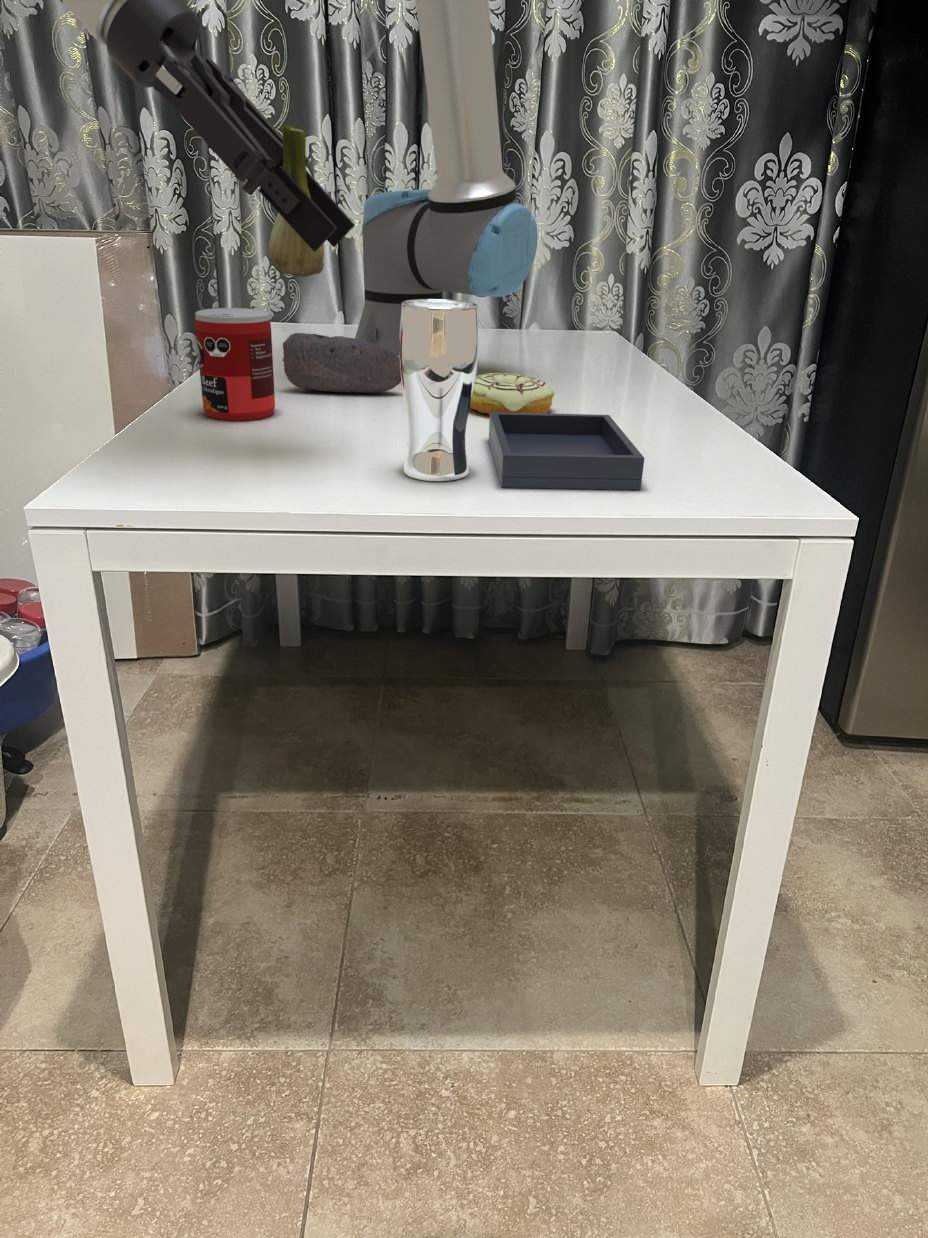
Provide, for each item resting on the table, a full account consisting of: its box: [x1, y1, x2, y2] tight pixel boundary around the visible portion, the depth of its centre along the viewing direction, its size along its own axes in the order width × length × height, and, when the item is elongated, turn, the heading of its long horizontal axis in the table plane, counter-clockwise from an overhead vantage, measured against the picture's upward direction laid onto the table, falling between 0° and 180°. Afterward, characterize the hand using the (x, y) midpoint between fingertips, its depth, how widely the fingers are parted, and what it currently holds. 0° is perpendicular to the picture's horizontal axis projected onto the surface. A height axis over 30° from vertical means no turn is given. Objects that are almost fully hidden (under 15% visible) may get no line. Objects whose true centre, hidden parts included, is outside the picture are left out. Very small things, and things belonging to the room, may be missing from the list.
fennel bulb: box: [268, 125, 325, 278], centre depth 80 cm, size 6×5×12 cm
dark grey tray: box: [488, 412, 645, 491], centre depth 88 cm, size 17×13×3 cm
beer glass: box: [399, 298, 479, 482], centre depth 81 cm, size 7×7×15 cm
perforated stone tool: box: [281, 332, 401, 394], centre depth 114 cm, size 15×5×7 cm, turn 84°
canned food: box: [194, 307, 276, 422], centre depth 101 cm, size 8×8×11 cm
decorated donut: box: [470, 372, 555, 416], centre depth 108 cm, size 10×11×4 cm
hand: (334, 237), depth 80 cm, fingers closed on fennel bulb, 6 cm apart
